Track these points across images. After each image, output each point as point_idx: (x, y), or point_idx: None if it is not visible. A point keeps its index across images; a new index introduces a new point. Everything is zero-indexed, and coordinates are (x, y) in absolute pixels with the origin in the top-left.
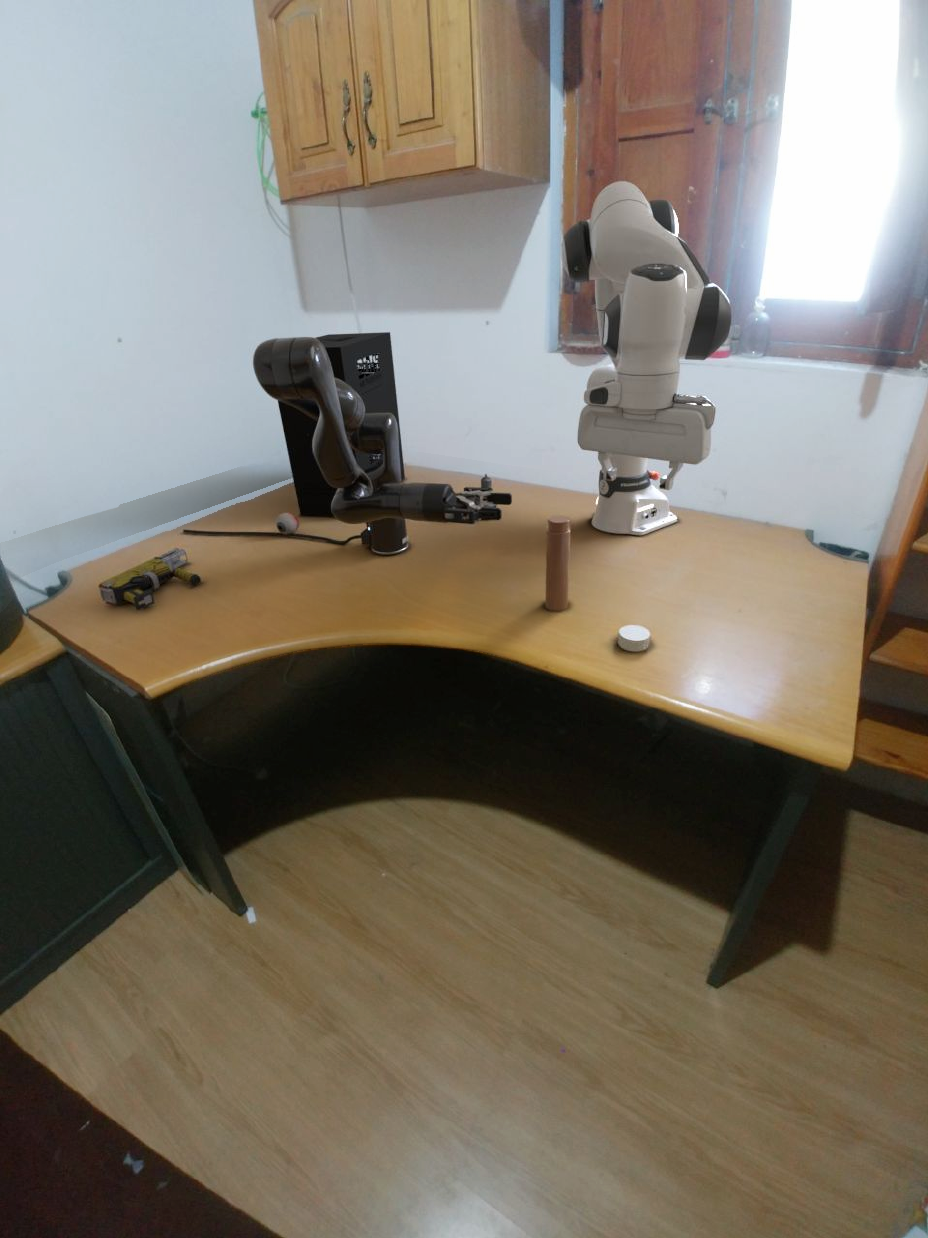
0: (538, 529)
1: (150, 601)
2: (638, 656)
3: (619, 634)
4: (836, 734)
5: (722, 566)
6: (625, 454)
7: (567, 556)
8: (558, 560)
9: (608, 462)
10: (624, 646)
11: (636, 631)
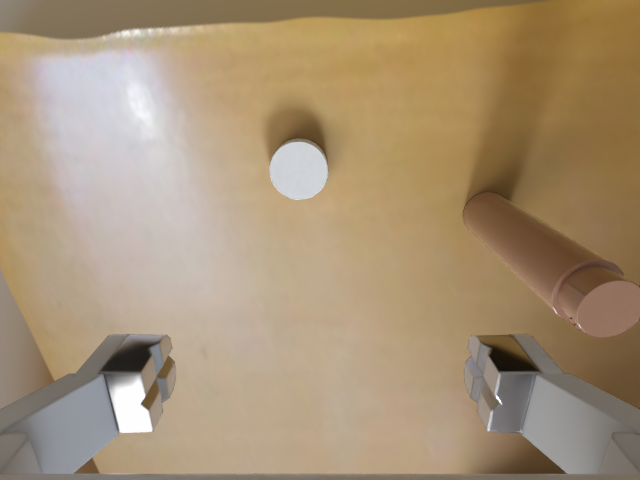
0: None
1: None
2: (273, 131)
3: (320, 151)
4: None
5: (285, 462)
6: (431, 475)
7: (515, 257)
8: (530, 233)
9: (567, 445)
10: (304, 139)
11: (297, 177)
